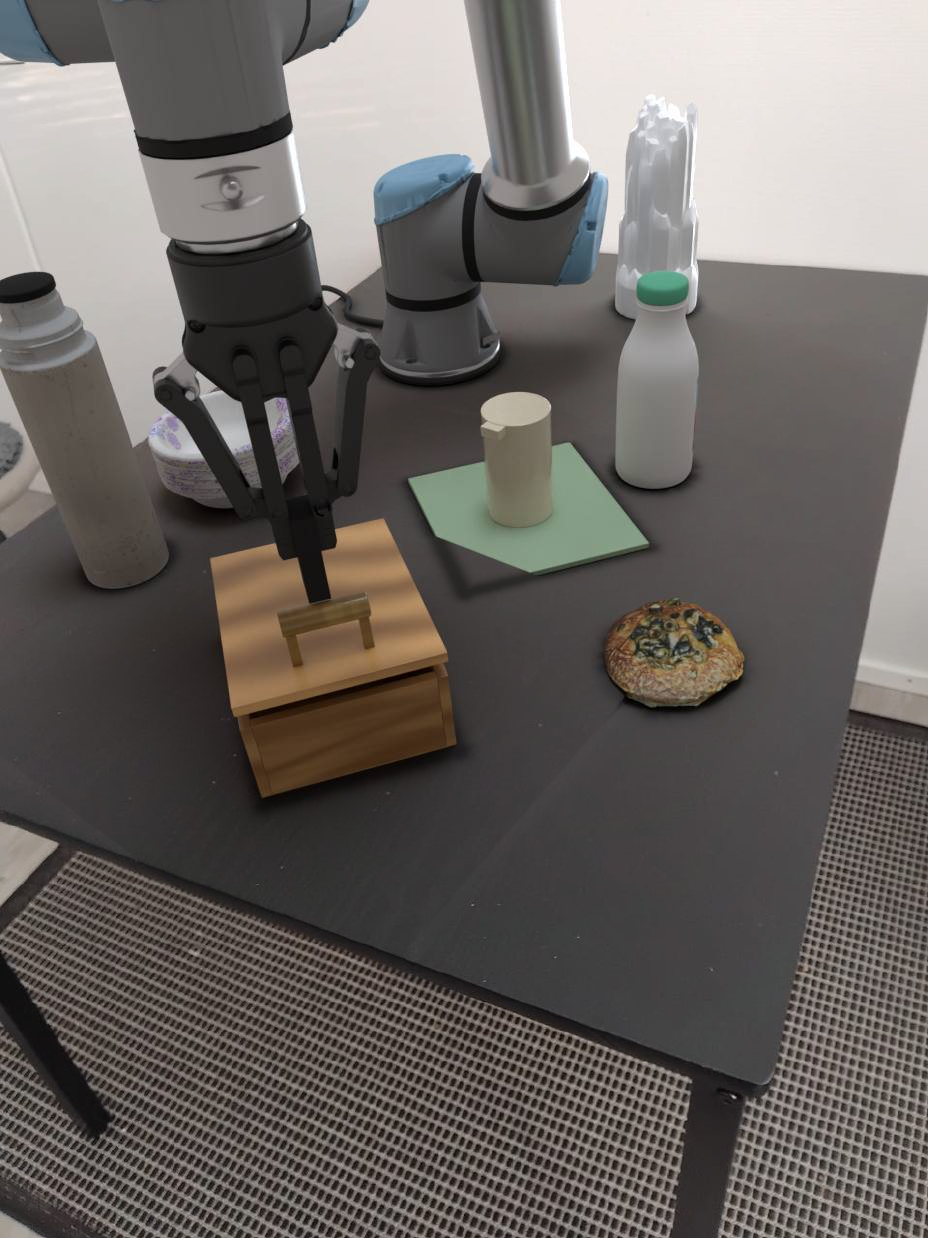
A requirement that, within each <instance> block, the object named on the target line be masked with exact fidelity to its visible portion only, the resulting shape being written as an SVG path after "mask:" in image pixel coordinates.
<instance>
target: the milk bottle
mask: <svg viewBox="0 0 928 1238" xmlns="http://www.w3.org/2000/svg"><path fill="white" fill-rule="evenodd" d="M688 290H689V281H688V278H687V277H686V276H685V275H683V274H681V273H678V272H674V271H655V272H650V273H647V274H644V275H642V276H641V277H640V278H639V279H638V282H637V300H636V303H637V305H638V306H639V310H638V315H637V318H636V319H635V322H634V324H633V326H632V328H631V331H630V333H629V335H628V337H627V339H626V341H625V343H624V345H623V347H622V350H621V354H620V357H619V362H618V370H617V385H616V413H615V450H614V451H615V453H614V457H615V459H614V461H615V462H614V463H615V471H616V472H617V475H618V476H619V478H620V479H621V480H623V481H624V482H625V483H627V484H629V485H631V486H634V487H637V488H643V489H650V490H657V489H658V490H659V489H666V488H671V487H674V486H676V485H679V484H680V483H682V482H684V481H685V480H686V479H687V478H688V476H689V475H690V473H691V471H692V467H693V458H694V446H695V436H696V435H695V434H696V422H697V421H696V420H697V410H698V409H697V408H698V396H699V395H698V394H699V379H700V378H699V377H700V376H699V375H700V373H699V372H700V367H699V363H700V362H699V356H698V355H699V354H698V351H697V350H698V349H697V347H696V343H695V341H694V338H693V336H692V334H691V330H690V328H689V325H688V322H687V317H686V315H685V311H684V308H685V305H686V304H687V302H688V299H687V296H688Z"/></svg>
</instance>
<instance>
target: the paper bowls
mask: <svg viewBox="0 0 928 1238" xmlns="http://www.w3.org/2000/svg"><path fill="white" fill-rule="evenodd" d="M199 397H200V398H201V400H202V401H203V403H204V405H205V407H206V408H207V410H208V412H209V414H210V415H211V417H212V419H213V421H214V422H215V424H216V426H217V428H218V429H219V431H220V433H221V435H222V436H223V438H224V440H225V442H226V443H227V445H228V447H229V449H230V450H231V452H232V454H233V456H234V457H235V459H236V461H237V463H238V464H239V466H240V468H241V470H242V471H243V473H244V475H245V477H246V478H247V480H248V482H249V484H250V485H251V487H255V488H262V486H261V482H260V478H259V474H258V469H257V465H256V461H255V457H254V453H253V449H252V445H251V441H250V437H249V432H248V428H247V424H246V420H245V416H244V412H243V408H242V404H241V402H239V401H236V400H234V399H232V398H231V397H229V396H228V395H227V394H226V393H224V392H223V391H222V390H221V389H220V390H217V391H213V392H207V393H204V394H202V395H201V394H200V395H199ZM264 404H265V409H266V413H267V417H268V423H269V427H270V432H271V436H272V441H273V445H274V449H275V454H276V458H277V463H278V467H279V471H280V476H281V480H282V485H283V484H285V481H286V479H287V477H288V474H289V473H291V472H292V471H293V470H294V469H295V468H296V467H297V466H298V465H299V464H300V463H299V458H298V454H297V449H296V444H295V440H294V435H293V431H292V426H291V421H290V417H289V412H288V408H287V403H286V399H285V398H273V399H271V400H269V401H267V402H265V403H264ZM147 443H148V446H149V448H150V451H151V454H152V458H153V462H154V464H155V466H156V469H157V473H158V475H159V478H160V480H161V482H162V484H163V486H164V487H165V488H166V489H168V490H169V491H171V492H172V493H174V494H176V495H179V496H181V497H185V498H190V499H193V500H194V501H195V502H197V503H199V504H201V505H202V506H206V507H209V508H215V509H234V507H233V506H232V504H231V502H230V501H229V499H228V497H227V496H226V494H225V492H224V491H223V489H222V487H221V486H220V484H219V482H218V481H217V479H216V477H215V476H214V474H213V472H212V471H211V469H210V467H209V466H208V464H207V462H206V461H205V459H204V457H203V456H202V454H201V452H200V451H199V449H198V447H197V446H196V444H195V442H194V441H193V439H192V437H191V436H190V434H189V432H188V431H187V429H186V427H185V426H184V424H183V422H182V421H181V420H180V419H178V418H177V417H176V416H175V415H174V414H172V413H171V412H170V411H169V410H167V411H166V412H164V413H163V414H162V415H161V416H159V418H157V419H156V421H154V422H153V424H152V426H151V427H150V430H149V432H148V435H147Z"/></svg>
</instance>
